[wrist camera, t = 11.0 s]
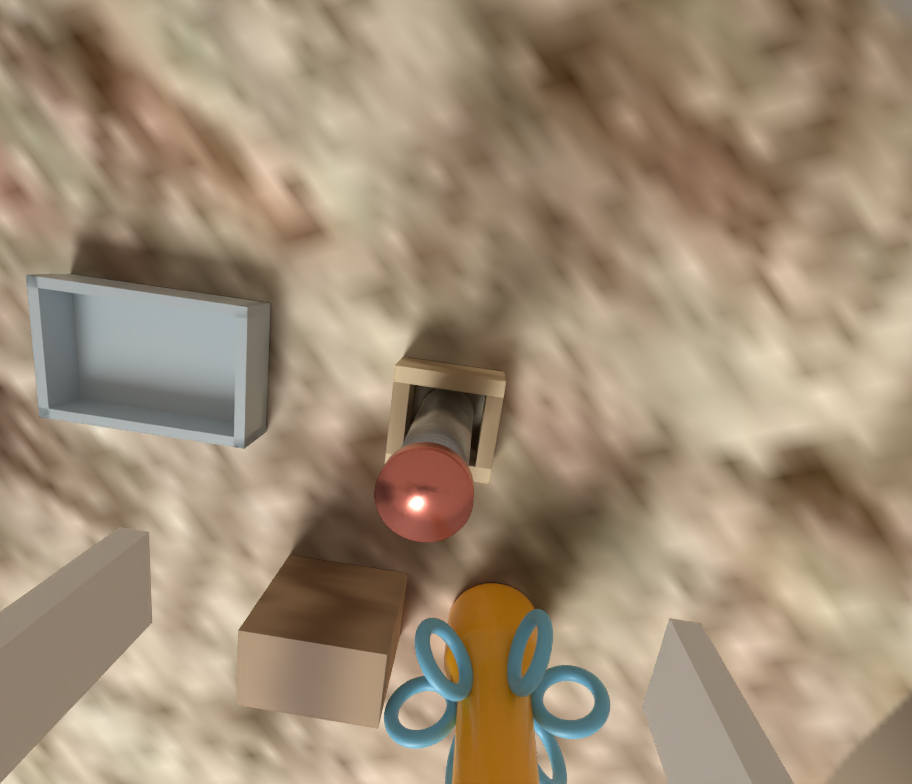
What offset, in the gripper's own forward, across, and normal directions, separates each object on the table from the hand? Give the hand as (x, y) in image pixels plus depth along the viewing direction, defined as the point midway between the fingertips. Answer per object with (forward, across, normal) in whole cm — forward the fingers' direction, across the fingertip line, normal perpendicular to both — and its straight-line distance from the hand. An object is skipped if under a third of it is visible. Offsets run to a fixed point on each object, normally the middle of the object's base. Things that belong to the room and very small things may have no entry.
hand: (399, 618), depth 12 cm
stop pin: (+18, 0, 0) cm, 18 cm away
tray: (+17, -17, +1) cm, 25 cm away
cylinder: (+18, +5, -14) cm, 23 cm away
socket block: (+18, 0, 0) cm, 18 cm away
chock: (+18, -5, -14) cm, 23 cm away
